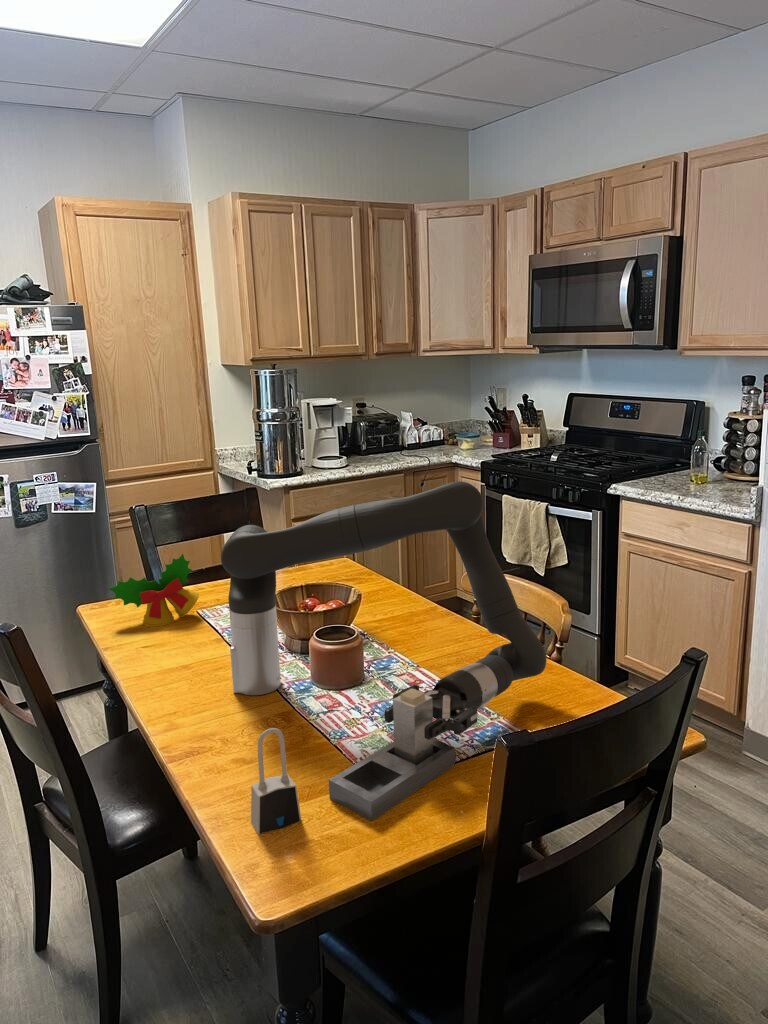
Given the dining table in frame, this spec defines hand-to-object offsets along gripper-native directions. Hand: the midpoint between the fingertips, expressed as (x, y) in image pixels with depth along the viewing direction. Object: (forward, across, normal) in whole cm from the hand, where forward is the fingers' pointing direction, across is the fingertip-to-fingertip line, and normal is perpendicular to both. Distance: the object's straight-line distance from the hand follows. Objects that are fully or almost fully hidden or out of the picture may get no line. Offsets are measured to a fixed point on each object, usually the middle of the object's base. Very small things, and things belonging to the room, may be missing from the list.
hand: (405, 725), depth 125 cm
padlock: (+22, -6, +9) cm, 25 cm away
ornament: (-12, -94, +9) cm, 95 cm away
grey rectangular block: (-2, 0, +8) cm, 8 cm away
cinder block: (+3, 0, +8) cm, 9 cm away
